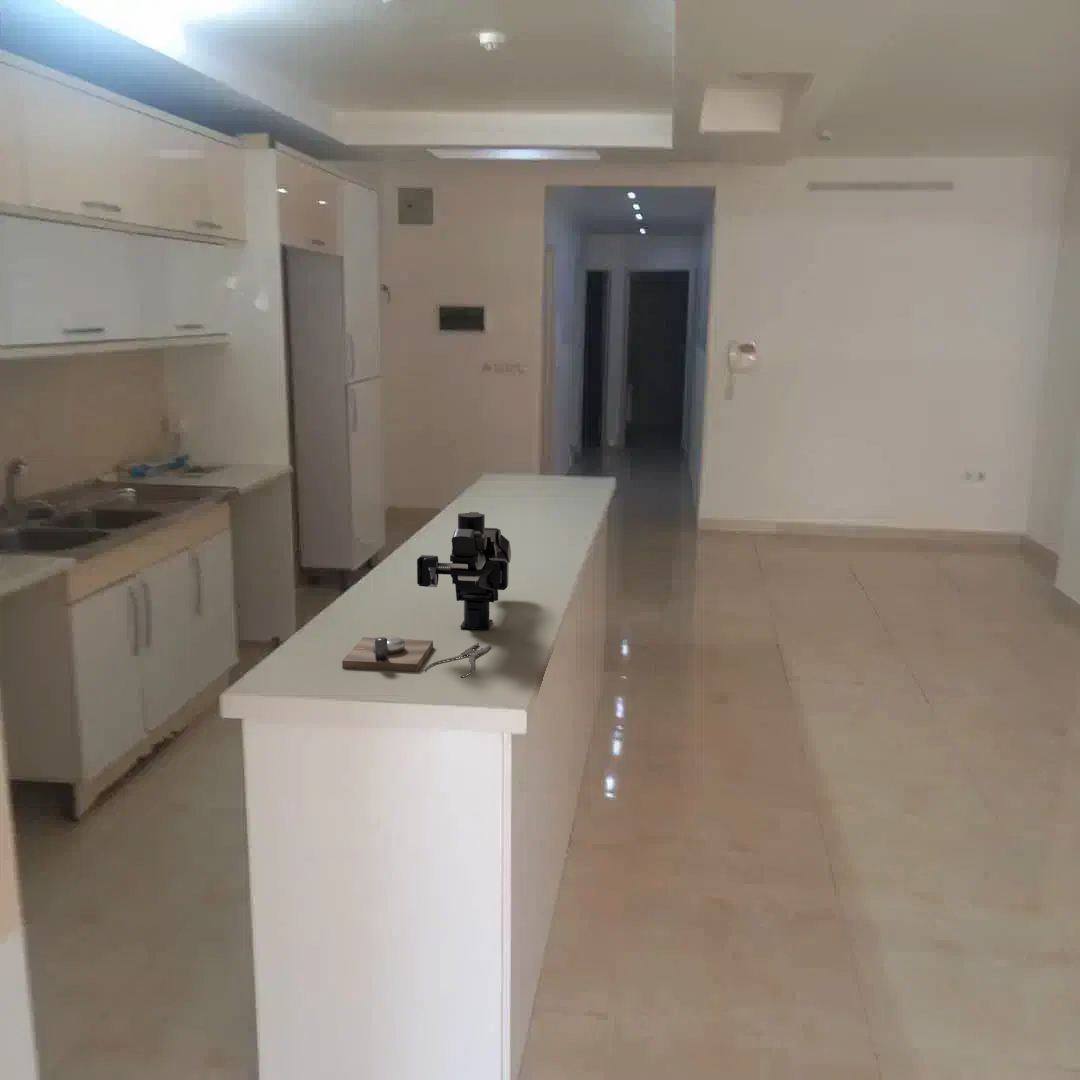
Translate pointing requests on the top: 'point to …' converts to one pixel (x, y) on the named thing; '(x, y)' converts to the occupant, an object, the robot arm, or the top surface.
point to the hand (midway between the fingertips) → (455, 582)
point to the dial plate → (401, 661)
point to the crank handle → (387, 646)
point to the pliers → (469, 652)
